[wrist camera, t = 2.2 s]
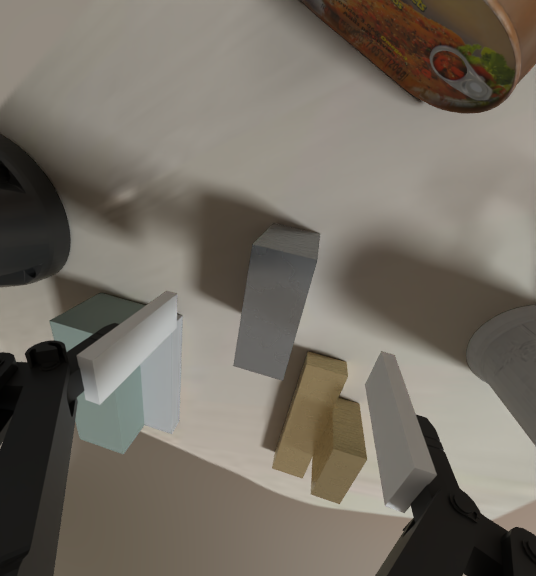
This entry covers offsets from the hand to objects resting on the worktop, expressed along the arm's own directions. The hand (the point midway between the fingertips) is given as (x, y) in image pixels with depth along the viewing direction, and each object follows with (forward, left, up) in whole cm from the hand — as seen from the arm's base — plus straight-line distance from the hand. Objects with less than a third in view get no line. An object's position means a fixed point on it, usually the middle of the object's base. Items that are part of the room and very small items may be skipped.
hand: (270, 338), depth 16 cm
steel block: (0, 0, -9) cm, 9 cm away
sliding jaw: (+7, -16, -8) cm, 19 cm away
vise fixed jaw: (-15, -16, -8) cm, 24 cm away
